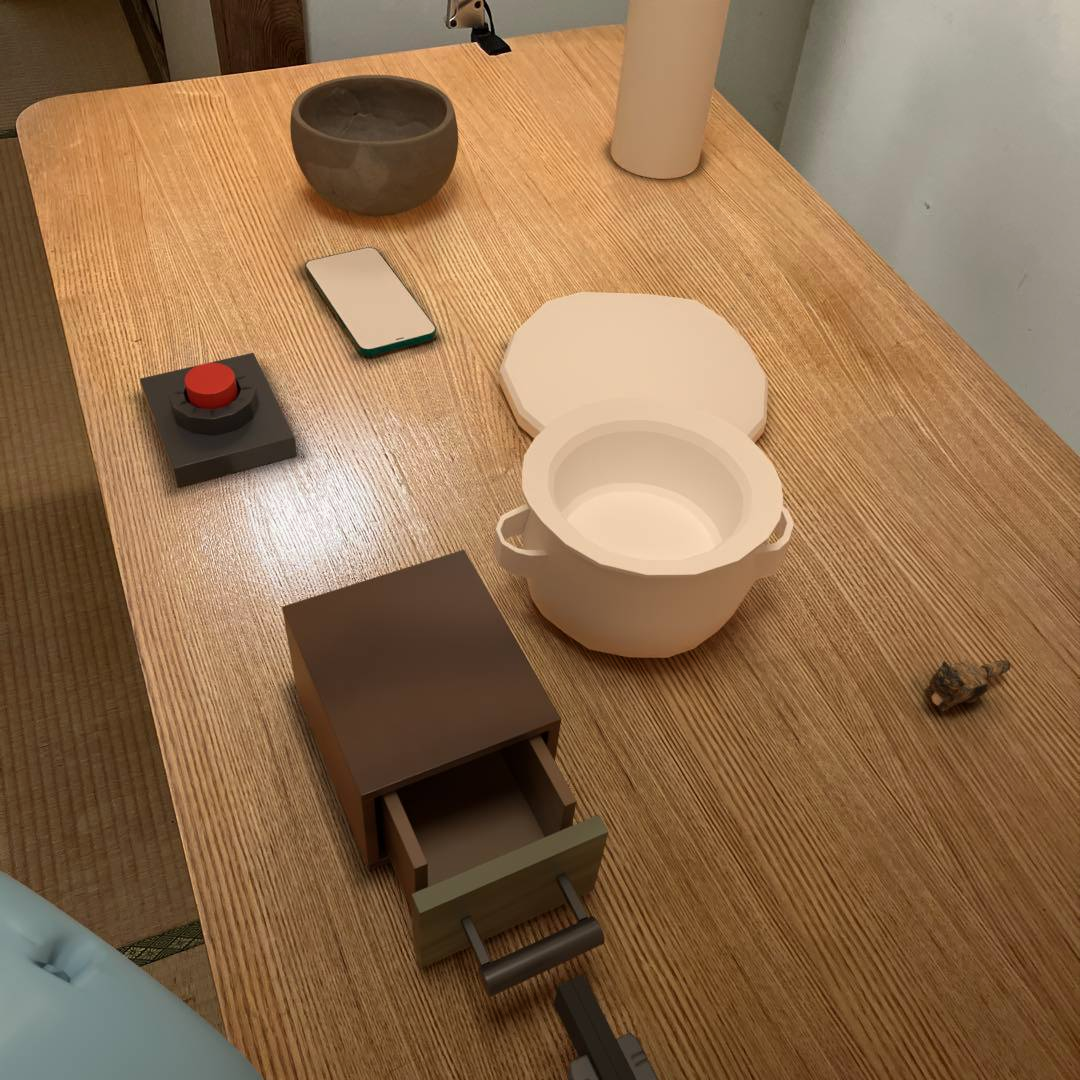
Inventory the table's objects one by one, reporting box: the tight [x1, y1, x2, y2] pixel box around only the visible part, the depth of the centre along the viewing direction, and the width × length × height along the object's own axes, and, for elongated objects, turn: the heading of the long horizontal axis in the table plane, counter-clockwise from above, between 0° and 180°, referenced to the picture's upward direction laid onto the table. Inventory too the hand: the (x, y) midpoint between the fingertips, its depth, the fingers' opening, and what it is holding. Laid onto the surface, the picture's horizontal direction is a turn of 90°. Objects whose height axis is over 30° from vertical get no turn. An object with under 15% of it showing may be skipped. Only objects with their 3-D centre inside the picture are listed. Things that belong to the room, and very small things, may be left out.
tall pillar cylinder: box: [610, 0, 731, 180], centre depth 120 cm, size 11×11×25 cm
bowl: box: [289, 74, 459, 218], centre depth 116 cm, size 17×18×10 cm
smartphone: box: [304, 246, 437, 357], centre depth 105 cm, size 8×1×16 cm
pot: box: [492, 398, 795, 659], centre depth 79 cm, size 22×17×12 cm
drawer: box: [374, 734, 609, 998], centre depth 64 cm, size 18×11×8 cm, turn 26°
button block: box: [139, 352, 298, 488], centre depth 91 cm, size 10×12×4 cm
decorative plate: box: [498, 291, 769, 444], centre depth 98 cm, size 25×4×25 cm
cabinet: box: [281, 549, 562, 872], centre depth 70 cm, size 15×13×10 cm
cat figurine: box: [924, 659, 1011, 712], centre depth 78 cm, size 3×8×4 cm, turn 116°
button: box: [185, 362, 237, 409], centre depth 89 cm, size 4×4×2 cm
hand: (568, 989), depth 56 cm, fingers closed
